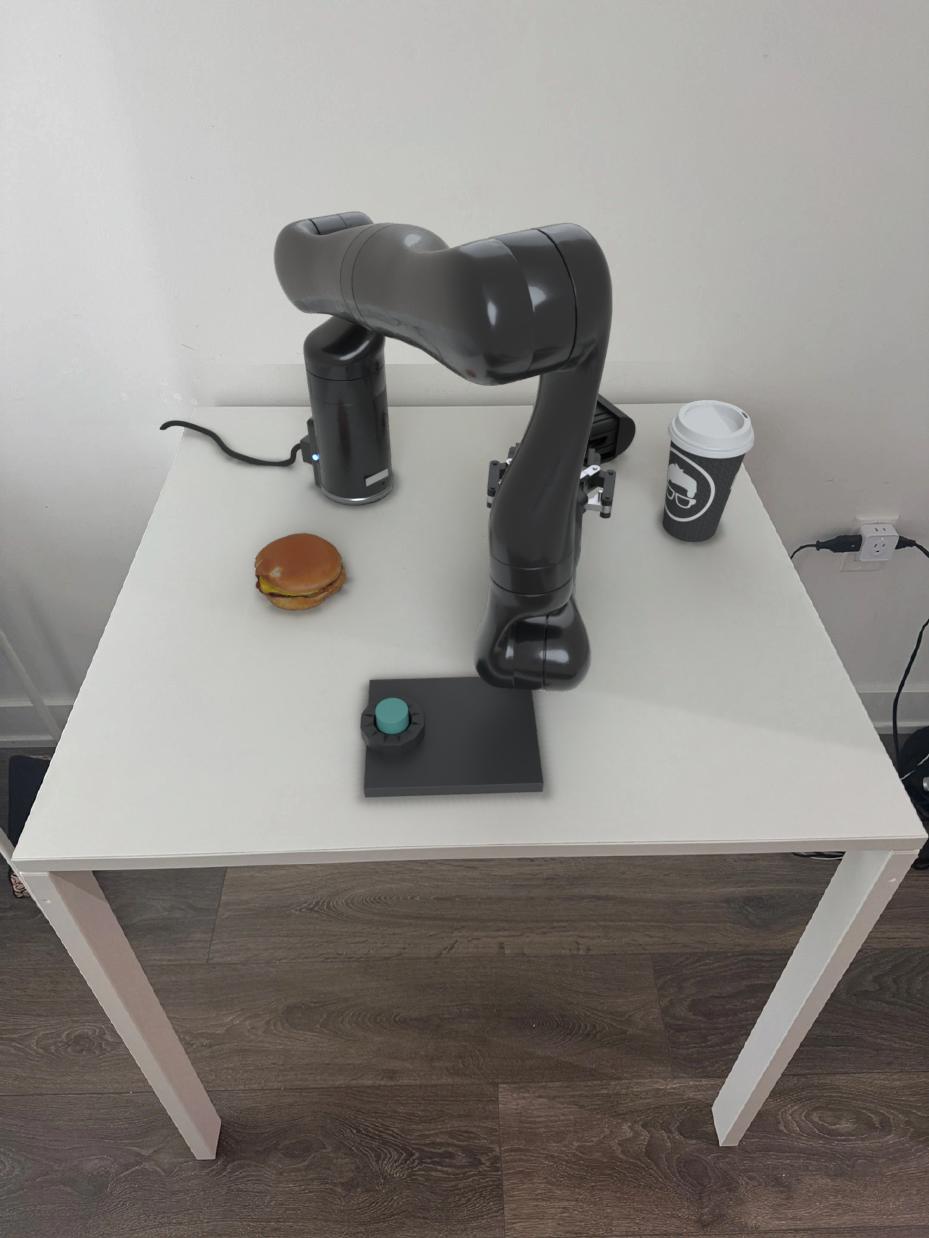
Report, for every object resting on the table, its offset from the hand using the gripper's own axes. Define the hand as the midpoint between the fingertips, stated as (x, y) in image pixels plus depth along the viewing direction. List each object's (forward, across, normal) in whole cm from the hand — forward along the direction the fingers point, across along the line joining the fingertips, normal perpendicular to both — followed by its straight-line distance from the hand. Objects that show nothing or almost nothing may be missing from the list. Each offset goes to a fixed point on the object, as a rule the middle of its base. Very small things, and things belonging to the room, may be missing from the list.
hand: (554, 452), depth 101 cm
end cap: (+16, -4, +9) cm, 19 cm away
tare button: (-37, +12, +6) cm, 40 cm away
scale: (-36, +7, +9) cm, 38 cm away
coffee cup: (0, -17, +9) cm, 20 cm away
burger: (-17, +27, +9) cm, 33 cm away
